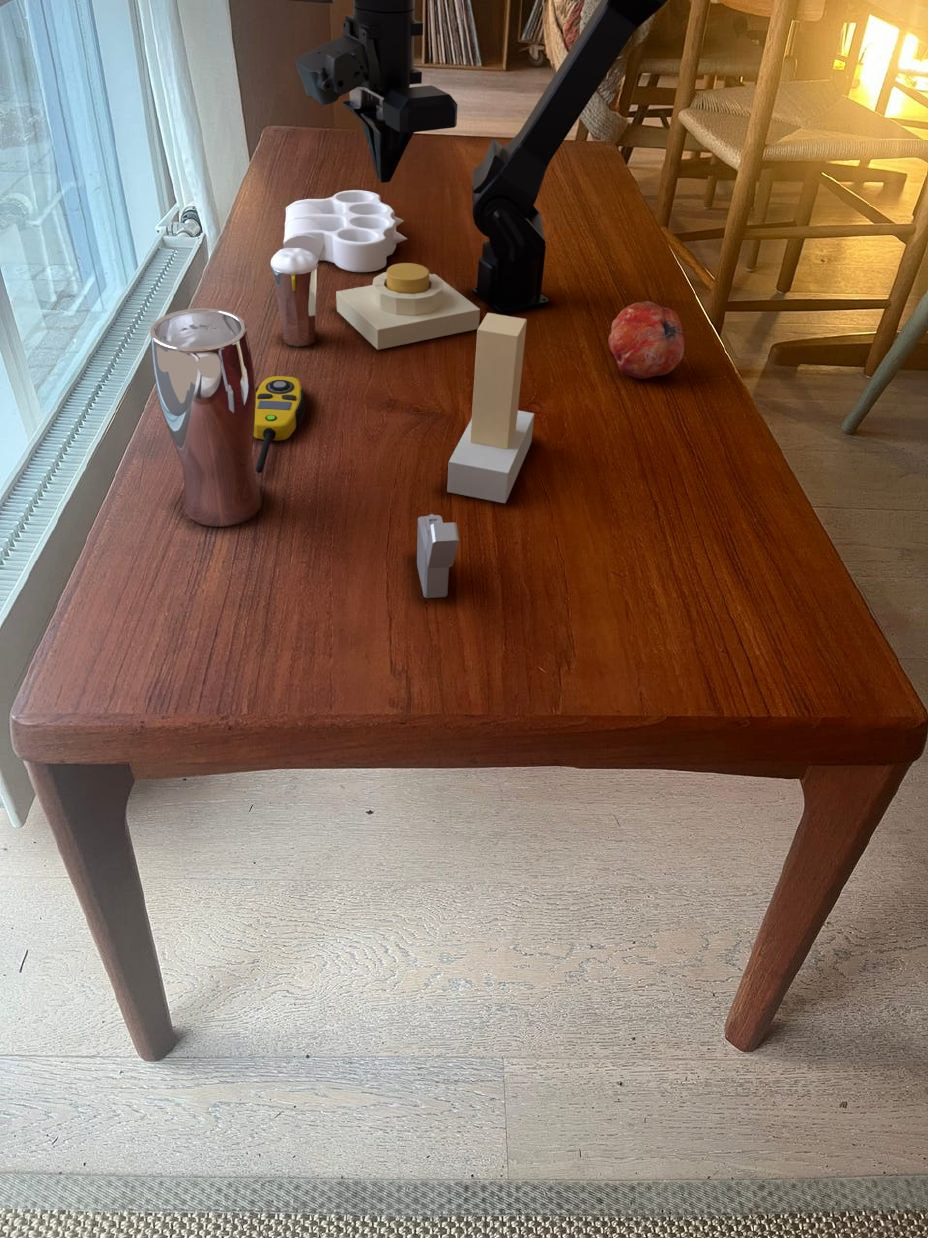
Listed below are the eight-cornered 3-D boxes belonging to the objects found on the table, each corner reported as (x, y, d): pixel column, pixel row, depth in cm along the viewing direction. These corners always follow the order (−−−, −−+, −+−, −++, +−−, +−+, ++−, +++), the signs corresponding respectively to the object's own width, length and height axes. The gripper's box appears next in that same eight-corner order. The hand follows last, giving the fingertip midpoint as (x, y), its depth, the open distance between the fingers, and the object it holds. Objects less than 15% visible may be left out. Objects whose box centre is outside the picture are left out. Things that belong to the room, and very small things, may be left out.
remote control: (309, 373, 91) (287, 460, 80) (310, 392, 92) (288, 480, 81) (256, 371, 91) (227, 458, 79) (258, 389, 92) (230, 478, 81)
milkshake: (321, 353, 98) (316, 254, 91) (270, 346, 98) (261, 247, 92) (334, 334, 101) (331, 237, 95) (285, 327, 102) (278, 230, 95)
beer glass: (282, 491, 80) (267, 317, 70) (240, 539, 75) (217, 359, 65) (207, 473, 81) (181, 299, 71) (161, 518, 76) (126, 338, 66)
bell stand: (434, 292, 110) (435, 257, 108) (479, 328, 104) (481, 292, 101) (336, 310, 105) (335, 274, 103) (377, 349, 99) (377, 312, 96)
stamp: (531, 442, 87) (546, 303, 79) (505, 503, 80) (519, 357, 71) (477, 432, 88) (487, 293, 79) (447, 492, 81) (454, 346, 72)
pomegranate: (589, 387, 100) (638, 369, 91) (586, 314, 100) (634, 288, 90) (653, 387, 102) (707, 369, 93) (650, 316, 102) (704, 291, 92)
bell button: (416, 276, 104) (416, 259, 103) (436, 291, 102) (436, 275, 101) (379, 282, 103) (379, 266, 102) (398, 299, 100) (398, 282, 99)
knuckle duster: (287, 215, 125) (401, 216, 127) (284, 272, 112) (411, 272, 114) (285, 188, 123) (401, 190, 125) (281, 243, 110) (411, 244, 112)
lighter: (416, 562, 74) (418, 473, 68) (439, 561, 74) (442, 472, 69) (430, 625, 68) (433, 534, 63) (454, 623, 69) (459, 532, 63)
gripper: (263, -9, 93) (275, 163, 104) (351, 33, 82) (355, 222, 92) (367, -14, 98) (368, 151, 108) (464, 26, 86) (455, 206, 97)
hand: (384, 181), depth 101 cm, fingers closed
